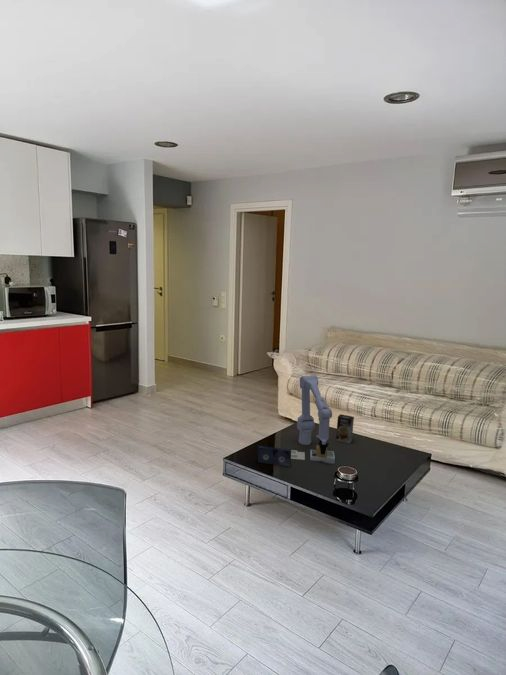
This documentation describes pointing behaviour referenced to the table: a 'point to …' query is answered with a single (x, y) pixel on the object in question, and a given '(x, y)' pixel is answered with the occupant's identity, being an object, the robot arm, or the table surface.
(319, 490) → the table surface
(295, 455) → the box
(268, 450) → the vhs cassette tape
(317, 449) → the block
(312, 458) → the parts tray
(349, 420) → the coffee box
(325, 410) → the robot arm
